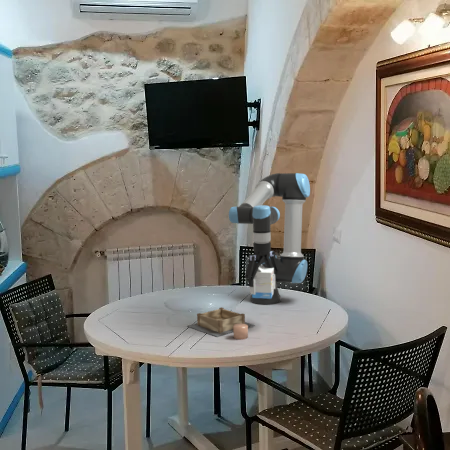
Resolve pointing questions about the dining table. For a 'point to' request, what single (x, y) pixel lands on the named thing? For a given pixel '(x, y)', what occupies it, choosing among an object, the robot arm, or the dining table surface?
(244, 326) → the brown egg
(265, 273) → the ink box
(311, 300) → the dining table surface
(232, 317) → the crate
